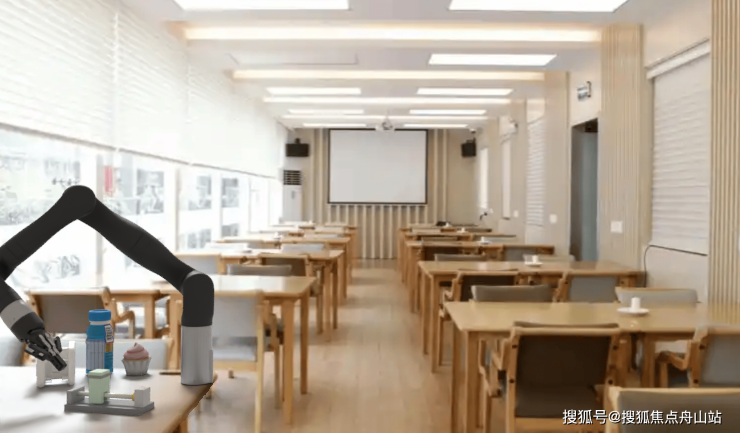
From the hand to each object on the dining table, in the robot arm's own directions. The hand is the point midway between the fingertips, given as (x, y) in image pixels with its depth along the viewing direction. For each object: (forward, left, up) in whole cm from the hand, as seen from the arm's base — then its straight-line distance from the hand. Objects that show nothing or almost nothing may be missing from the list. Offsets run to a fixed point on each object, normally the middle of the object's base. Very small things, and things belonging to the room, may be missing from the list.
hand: (63, 368), depth 198 cm
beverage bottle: (-8, -38, -10) cm, 40 cm away
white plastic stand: (+4, -28, -10) cm, 30 cm away
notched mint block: (-9, +5, -8) cm, 13 cm away
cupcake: (-19, -35, -10) cm, 41 cm away
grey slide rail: (-12, +7, -10) cm, 17 cm away
